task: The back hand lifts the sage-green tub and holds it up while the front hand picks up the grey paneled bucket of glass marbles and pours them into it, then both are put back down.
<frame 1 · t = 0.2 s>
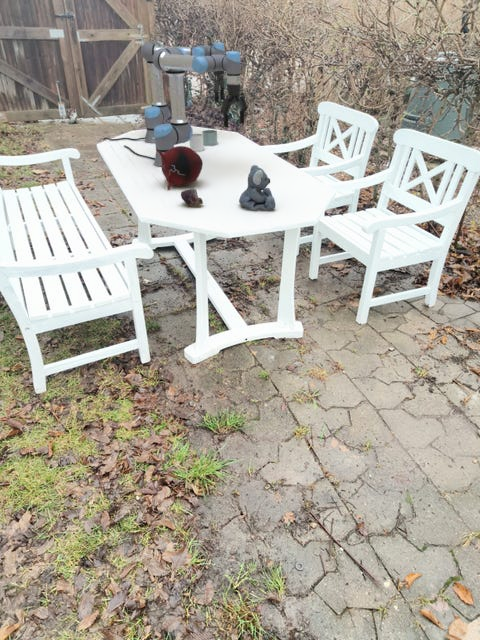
front hand: (234, 125, 260), 28 cm above the table, tool pointing down, fingers open, 13 cm apart
back hand: (219, 100, 332), 28 cm above the table, tool pointing down, fingers open, 13 cm apart
grey paneled bucket: (196, 149, 324), on the table, 65 glass marbles inside
tub: (210, 143, 338), on the table, 0 glass marbles inside
koala plush: (256, 206, 229), on the table
dark red pot: (183, 183, 261), on the table
rock: (191, 204, 231), on the table
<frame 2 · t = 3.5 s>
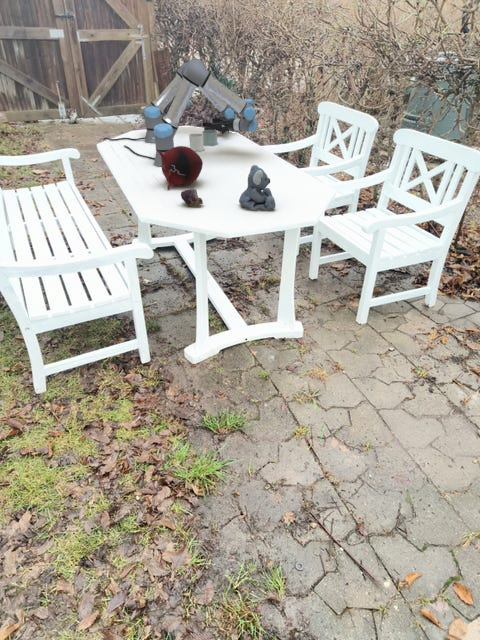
front hand: (207, 122, 309), 19 cm above the table, tool horizontal, fingers open, 13 cm apart
back hand: (213, 131, 342), 7 cm above the table, tool horizontal, fingers open, 13 cm apart
nothing on the table moved.
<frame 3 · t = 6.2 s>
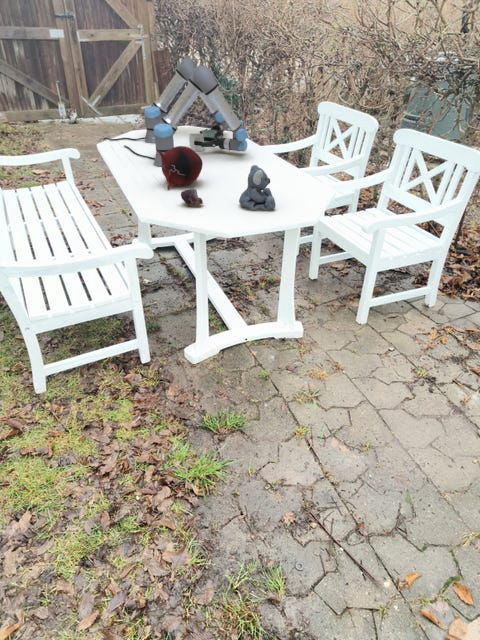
front hand: (199, 140, 319), 6 cm above the table, tool horizontal, fingers open, 13 cm apart
back hand: (208, 135, 331), 6 cm above the table, tool horizontal, fingers closed on tub, 11 cm apart
tub: (210, 143, 338), on the table, 0 glass marbles inside, touching back hand
everything else where it was.
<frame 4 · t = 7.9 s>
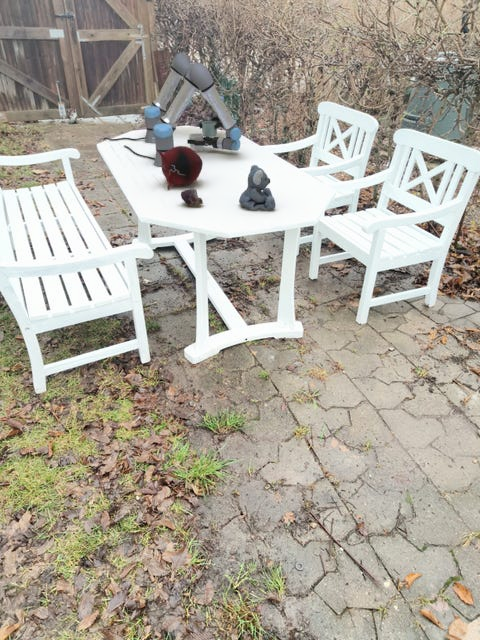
front hand: (191, 139, 321), 6 cm above the table, tool horizontal, fingers closed on grey paneled bucket, 10 cm apart
back hand: (207, 127, 328), 13 cm above the table, tool horizontal, fingers closed on tub, 11 cm apart
grey paneled bucket: (196, 149, 324), on the table, 65 glass marbles inside, touching front hand
tub: (209, 135, 334), point 6 cm above the table, 0 glass marbles inside, touching back hand
everything else where it was.
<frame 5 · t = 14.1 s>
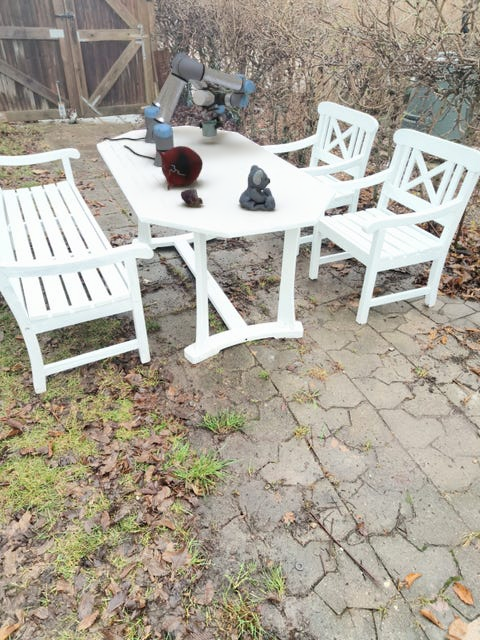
front hand: (198, 97, 317), 32 cm above the table, tool horizontal, fingers closed on grey paneled bucket, 10 cm apart
back hand: (207, 127, 328), 13 cm above the table, tool horizontal, fingers closed on tub, 11 cm apart
grey paneled bucket: (198, 97, 310), point 33 cm above the table, tilted 100°, 22 glass marbles inside, touching front hand
tub: (209, 135, 334), point 6 cm above the table, 38 glass marbles inside, touching back hand
when the back hand's fingers open (7 cm above the table, at t = 19.6 s): tub stays where it is, on the table.
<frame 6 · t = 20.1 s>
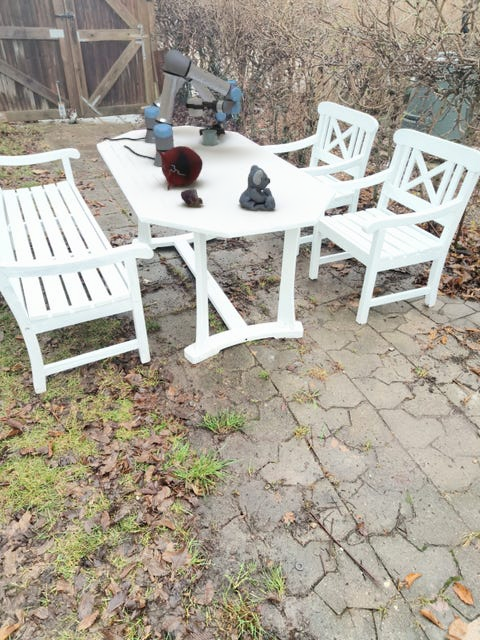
front hand: (190, 104, 308), 30 cm above the table, tool horizontal, fingers closed on grey paneled bucket, 10 cm apart
back hand: (208, 134, 332), 7 cm above the table, tool horizontal, fingers open, 13 cm apart
grey paneled bucket: (195, 115, 311), point 23 cm above the table, 0 glass marbles inside, touching front hand
tub: (210, 143, 338), on the table, 64 glass marbles inside
when the front hand's fingers open (7 cm above the table, at t = 24.4 s): grey paneled bucket stays where it is, on the table.
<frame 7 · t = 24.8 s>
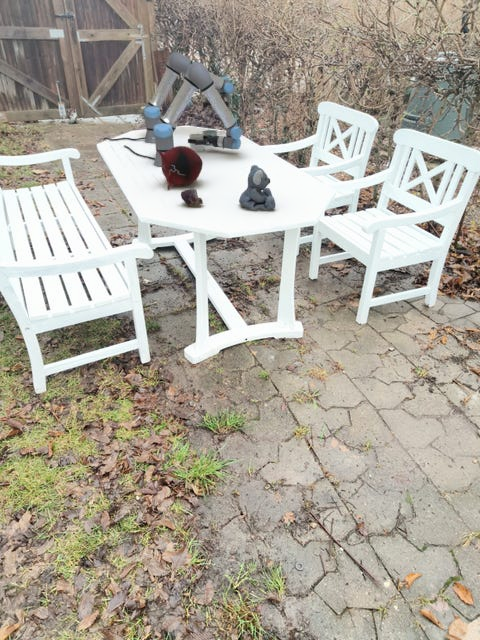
front hand: (193, 138, 320), 7 cm above the table, tool horizontal, fingers open, 13 cm apart
back hand: (212, 106, 332), 24 cm above the table, tool horizontal, fingers open, 13 cm apart
grey paneled bucket: (197, 149, 324), on the table, 0 glass marbles inside
everything else where it was.
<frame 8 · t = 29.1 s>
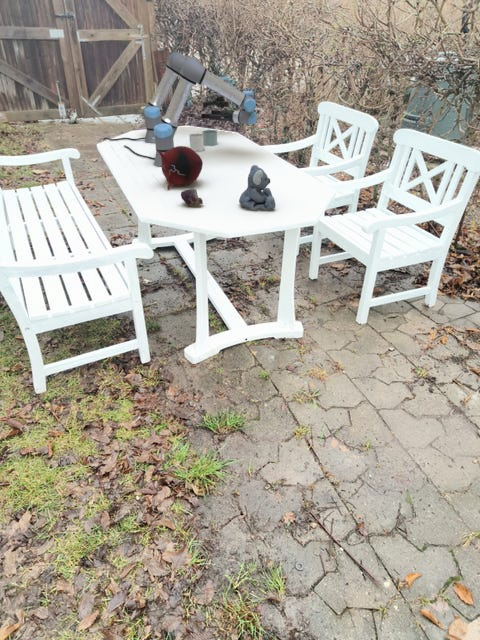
front hand: (206, 114, 306), 24 cm above the table, tool horizontal, fingers open, 13 cm apart
back hand: (212, 106, 332), 24 cm above the table, tool horizontal, fingers open, 13 cm apart
nothing on the table moved.
at the end: 64 of the 65 glass marbles in the tub, 1 off the table; tub was lifted up to 6 cm off the table; tub tilted 0°; grey paneled bucket tilted 0°; the front hand is holding nothing; the back hand is holding nothing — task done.
